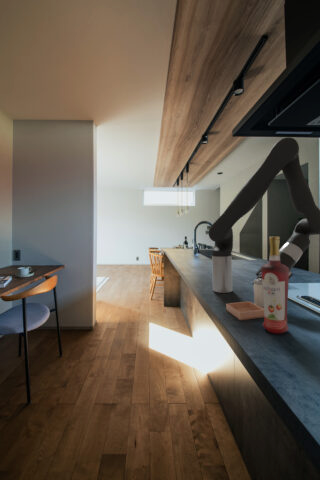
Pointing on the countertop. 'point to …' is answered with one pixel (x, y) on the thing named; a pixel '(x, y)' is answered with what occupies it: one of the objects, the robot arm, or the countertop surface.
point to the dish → (245, 310)
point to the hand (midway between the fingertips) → (261, 288)
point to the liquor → (275, 290)
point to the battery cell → (258, 293)
